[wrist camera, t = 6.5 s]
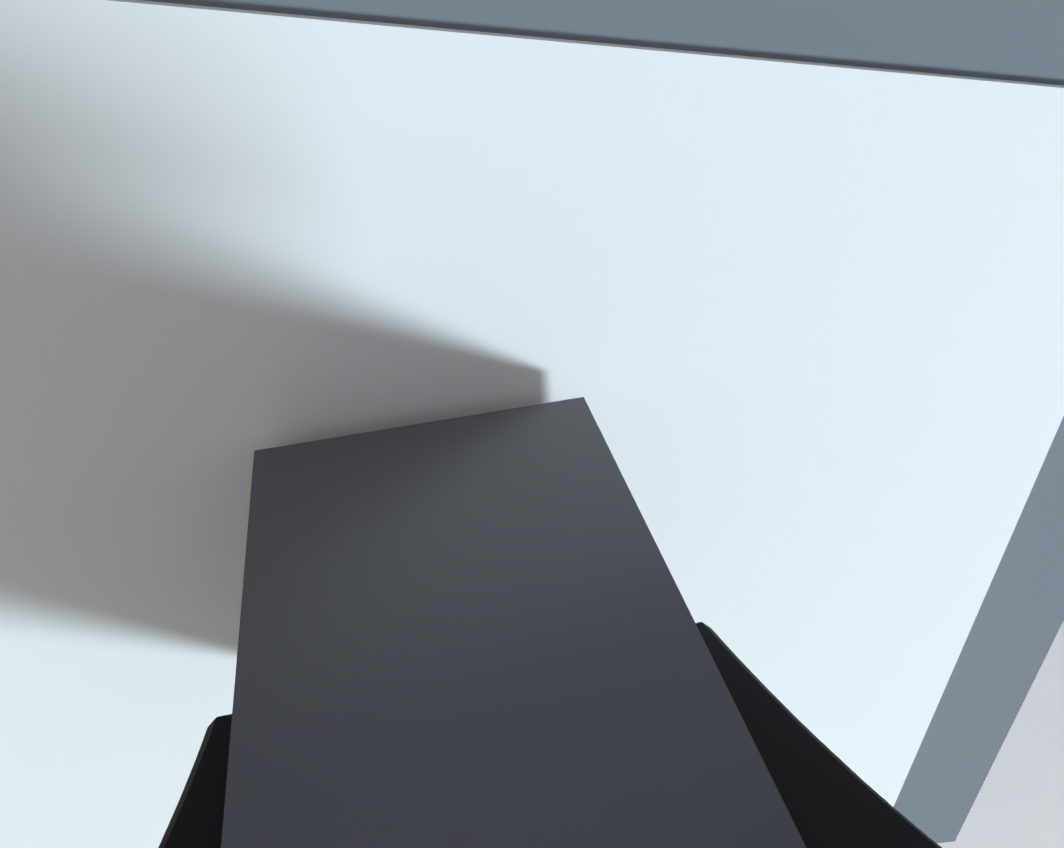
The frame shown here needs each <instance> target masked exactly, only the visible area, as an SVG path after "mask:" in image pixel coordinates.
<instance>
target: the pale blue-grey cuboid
mask: <svg viewBox="0 0 1064 848" xmlns="http://www.w3.org/2000/svg"><path fill="white" fill-rule="evenodd" d="M221 848H806V846H805V844H804V842H803V840H802V838H801V836H800V834H799V832H798V830H797V828H796V826H795V824H794V822H793V820H792V818H791V816H790V814H789V812H788V809H787V807H786V805H785V803H784V801H783V799H782V797H781V795H780V793H779V791H778V789H777V787H776V785H775V783H774V781H773V779H772V777H771V775H770V773H769V771H768V769H767V767H766V765H765V763H764V761H763V759H762V757H761V755H760V753H759V751H758V749H757V747H756V745H755V743H754V741H753V739H752V737H751V735H750V733H749V731H748V729H747V727H746V724H745V722H744V720H743V718H742V716H741V714H740V712H739V710H738V708H737V706H736V704H735V702H734V700H733V698H732V696H731V694H730V692H729V690H728V688H727V686H726V684H725V682H724V680H723V678H722V676H721V674H720V672H719V670H718V668H717V666H716V664H715V662H714V660H713V658H712V656H711V654H710V652H709V650H708V648H707V646H706V644H705V642H704V639H703V637H702V635H701V633H700V631H699V629H698V627H697V625H696V623H695V621H694V619H693V617H692V615H691V613H690V611H689V609H688V607H687V605H686V603H685V601H684V599H683V597H682V595H681V593H680V591H679V589H678V587H677V585H676V583H675V581H674V579H673V577H672V575H671V573H670V571H669V569H668V567H667V565H666V563H665V561H664V559H663V557H662V554H661V552H660V550H659V548H658V546H657V544H656V542H655V540H654V538H653V536H652V534H651V532H650V530H649V528H648V526H647V524H646V522H645V520H644V518H643V516H642V514H641V512H640V510H639V508H638V506H637V504H636V502H635V500H634V498H633V496H632V494H631V492H630V490H629V488H628V486H627V484H626V482H625V480H624V478H623V476H622V474H621V472H620V470H619V467H618V465H617V463H616V461H615V459H614V457H613V455H612V453H611V451H610V449H609V447H608V445H607V443H606V441H605V439H604V437H603V435H602V433H601V431H600V429H599V427H598V425H597V423H596V421H595V419H594V417H593V415H592V413H591V411H590V409H589V407H588V405H587V403H586V401H585V399H584V397H580V398H573V399H567V400H561V401H555V402H549V403H543V404H537V405H531V406H524V407H518V408H512V409H506V410H500V411H494V412H488V413H482V414H475V415H469V416H463V417H457V418H451V419H445V420H439V421H432V422H426V423H420V424H414V425H408V426H402V427H396V428H390V429H383V430H377V431H371V432H365V433H359V434H353V435H347V436H341V437H334V438H328V439H322V440H316V441H310V442H304V443H298V444H292V445H285V446H279V447H273V448H267V449H261V450H255V451H254V459H253V471H252V483H251V495H250V507H249V519H248V531H247V543H246V555H245V567H244V578H243V590H242V602H241V614H240V626H239V638H238V650H237V662H236V674H235V686H234V698H233V710H232V722H231V734H230V746H229V758H228V770H227V781H226V793H225V805H224V817H223V829H222V841H221Z"/></svg>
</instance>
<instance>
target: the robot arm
mask: <svg viewBox="0 0 1064 848" xmlns="http://www.w3.org/2000/svg"><path fill="white" fill-rule="evenodd" d="M696 625H697V627H698V629H699V631H700V633H701V635H702V637H703V639H704V642H705V644H706V646H707V648H708V650H709V652H710V654H711V656H712V658H713V660H714V662H715V664H716V666H717V668H718V670H719V672H720V674H721V676H722V678H723V680H724V682H725V684H726V686H727V688H728V690H729V692H730V694H731V696H732V698H733V700H734V702H735V704H736V706H737V708H738V710H739V712H740V714H741V716H742V718H743V720H744V722H745V724H746V727H747V729H748V731H749V733H750V735H751V737H752V739H753V741H754V743H755V745H756V747H757V749H758V751H759V753H760V755H761V757H762V759H763V761H764V763H765V765H766V767H767V769H768V771H769V773H770V775H771V777H772V779H773V781H774V783H775V785H776V787H777V789H778V791H779V793H780V795H781V797H782V799H783V801H784V803H785V805H786V807H787V809H788V812H789V814H790V816H791V818H792V820H793V822H794V824H795V826H796V828H797V830H798V832H799V834H800V836H801V838H802V840H803V842H804V844H805V846H806V848H942V847H940V846H939V845H938V844H937V843H935V842H934V841H933V840H932V839H931V838H929V837H928V836H927V835H926V834H925V833H923V832H922V831H921V830H920V829H919V828H917V827H916V826H915V825H914V824H913V823H912V822H910V821H909V820H908V819H907V818H906V817H904V816H903V815H902V814H901V813H900V812H899V811H897V810H896V809H895V808H894V807H893V806H891V805H890V804H889V803H888V802H887V801H886V800H885V799H884V798H882V797H881V796H880V795H879V794H878V793H877V792H876V791H874V790H873V789H872V788H871V787H870V786H869V785H868V784H867V783H865V782H864V781H863V780H862V779H861V778H860V777H859V776H858V775H857V774H856V773H855V772H853V771H852V770H851V769H850V768H849V767H848V766H847V765H846V764H845V763H844V762H843V761H842V760H841V759H840V758H838V757H837V756H836V755H835V754H834V753H833V752H832V751H831V750H830V749H829V748H828V747H827V746H826V745H824V744H823V743H822V742H821V741H820V740H819V739H818V738H817V737H816V736H815V735H814V734H813V733H812V732H811V731H810V730H809V729H808V728H807V727H806V726H805V725H803V724H802V723H801V722H800V721H799V720H798V719H797V718H796V717H795V716H794V715H793V714H792V713H791V712H790V711H789V710H788V709H787V708H786V707H785V706H784V705H783V704H782V703H781V702H780V701H779V700H778V699H777V698H776V697H775V696H774V695H773V694H772V693H771V692H770V691H769V690H768V689H767V688H766V686H765V685H764V684H763V683H762V682H761V681H760V680H759V679H758V678H757V677H756V676H755V675H754V674H753V673H752V672H751V671H750V670H749V669H748V668H747V667H746V666H745V664H744V663H743V662H742V661H741V660H740V659H739V658H738V657H737V656H736V655H735V654H734V653H733V652H732V651H731V649H730V648H729V647H728V646H727V645H726V644H725V643H724V642H723V641H722V640H721V639H720V637H719V636H718V635H717V634H716V633H715V632H714V631H713V630H712V629H711V628H710V627H709V626H707V625H706V624H704V623H703V622H699V623H696ZM231 722H232V714H229V715H224V716H219V717H216V718H215V719H214V720H213V722H212V723H211V724H210V725H209V726H208V728H207V730H206V733H205V736H204V739H203V741H202V744H201V747H200V749H199V752H198V755H197V757H196V760H195V762H194V765H193V767H192V770H191V772H190V775H189V778H188V780H187V782H186V785H185V787H184V790H183V792H182V795H181V797H180V799H179V802H178V804H177V806H176V809H175V811H174V813H173V816H172V818H171V820H170V822H169V825H168V827H167V829H166V831H165V834H164V836H163V838H162V841H161V843H160V845H159V847H158V848H221V841H222V829H223V817H224V805H225V793H226V781H227V770H228V758H229V746H230V734H231Z"/></svg>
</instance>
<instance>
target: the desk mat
mask: <svg viewBox="0 0 1064 848" xmlns="http://www.w3.org/2000/svg"><path fill="white" fill-rule="evenodd" d="M580 397H584V399H585V401H586V403H587V405H588V407H589V409H590V411H591V413H592V415H593V417H594V419H595V421H596V423H597V425H598V427H599V429H600V431H601V433H602V435H603V437H604V439H605V441H606V443H607V445H608V447H609V449H610V451H611V453H612V455H613V457H614V459H615V461H616V463H617V465H618V467H619V470H620V472H621V474H622V476H623V478H624V480H625V482H626V484H627V486H628V488H629V490H630V492H631V494H632V496H633V498H634V500H635V502H636V504H637V506H638V508H639V510H640V512H641V514H642V516H643V518H644V520H645V522H646V524H647V526H648V528H649V530H650V532H651V534H652V536H653V538H654V540H655V542H656V544H657V546H658V548H659V550H660V552H661V554H662V557H663V559H664V561H665V563H666V565H667V567H668V569H669V571H670V573H671V575H672V577H673V579H674V581H675V583H676V585H677V587H678V589H679V591H680V593H681V595H682V597H683V599H684V601H685V603H686V605H687V607H688V609H689V611H690V613H691V615H692V617H693V619H694V621H695V623H699V622H703V623H704V624H706V625H707V626H709V627H710V628H711V629H712V630H713V631H714V632H715V633H716V634H717V635H718V636H719V637H720V639H721V640H722V641H723V642H724V643H725V644H726V645H727V646H728V647H729V648H730V649H731V651H732V652H733V653H734V654H735V655H736V656H737V657H738V658H739V659H740V660H741V661H742V662H743V663H744V664H745V666H746V667H747V668H748V669H749V670H750V671H751V672H752V673H753V674H754V675H755V676H756V677H757V678H758V679H759V680H760V681H761V682H762V683H763V684H764V685H765V686H766V688H767V689H768V690H769V691H770V692H771V693H772V694H773V695H774V696H775V697H776V698H777V699H778V700H779V701H780V702H781V703H782V704H783V705H784V706H785V707H786V708H787V709H788V710H789V711H790V712H791V713H792V714H793V715H794V716H795V717H796V718H797V719H798V720H799V721H800V722H801V723H802V724H803V725H805V726H806V727H807V728H808V729H809V730H810V731H811V732H812V733H813V734H814V735H815V736H816V737H817V738H818V739H819V740H820V741H821V742H822V743H823V744H824V745H826V746H827V747H828V748H829V749H830V750H831V751H832V752H833V753H834V754H835V755H836V756H837V757H838V758H840V759H841V760H842V761H843V762H844V763H845V764H846V765H847V766H848V767H849V768H850V769H851V770H852V771H853V772H855V773H856V774H857V775H858V776H859V777H860V778H861V779H862V780H863V781H864V782H865V783H867V784H868V785H869V786H870V787H871V788H872V789H873V790H874V791H876V792H877V793H878V794H879V795H880V796H881V797H882V798H884V799H885V800H886V801H887V802H888V803H889V804H890V805H891V806H893V807H894V808H895V809H896V810H897V811H899V812H900V813H901V814H902V815H903V816H904V817H906V818H907V819H908V820H909V821H910V822H912V823H913V824H914V825H915V826H916V827H917V828H919V829H920V830H921V831H922V832H923V833H925V834H926V835H927V836H928V837H929V838H931V839H932V840H933V841H934V842H935V843H942V842H952V841H955V840H956V838H957V835H958V833H959V831H960V829H961V827H962V825H963V823H964V821H965V819H966V817H967V815H968V813H969V811H970V809H971V807H972V805H973V803H974V801H975V799H976V797H977V795H978V793H979V791H980V789H981V787H982V785H983V783H984V781H985V779H986V777H987V775H988V773H989V770H990V768H991V766H992V764H993V762H994V760H995V758H996V756H997V754H998V752H999V750H1000V748H1001V746H1002V744H1003V742H1004V740H1005V738H1006V736H1007V734H1008V732H1009V730H1010V728H1011V726H1012V724H1013V722H1014V720H1015V718H1016V716H1017V714H1018V712H1019V710H1020V708H1021V706H1022V703H1023V701H1024V699H1025V697H1026V695H1027V693H1028V691H1029V689H1030V687H1031V685H1032V683H1033V681H1034V679H1035V677H1036V675H1037V673H1038V671H1039V669H1040V667H1041V665H1042V663H1043V661H1044V659H1045V657H1046V655H1047V653H1048V651H1049V649H1050V647H1051V645H1052V643H1053V641H1054V639H1055V636H1056V634H1057V632H1058V630H1059V628H1060V626H1061V624H1062V622H1063V620H1064V0H0V848H158V847H159V845H160V843H161V841H162V838H163V836H164V834H165V831H166V829H167V827H168V825H169V822H170V820H171V818H172V816H173V813H174V811H175V809H176V806H177V804H178V802H179V799H180V797H181V795H182V792H183V790H184V787H185V785H186V782H187V780H188V778H189V775H190V772H191V770H192V767H193V765H194V762H195V760H196V757H197V755H198V752H199V749H200V747H201V744H202V741H203V739H204V736H205V733H206V730H207V728H208V726H209V725H210V724H211V723H212V722H213V720H214V719H215V718H216V717H219V716H224V715H229V714H232V710H233V698H234V686H235V674H236V662H237V650H238V638H239V626H240V614H241V602H242V590H243V578H244V567H245V555H246V543H247V531H248V519H249V507H250V495H251V483H252V471H253V459H254V451H255V450H261V449H267V448H273V447H279V446H285V445H292V444H298V443H304V442H310V441H316V440H322V439H328V438H334V437H341V436H347V435H353V434H359V433H365V432H371V431H377V430H383V429H390V428H396V427H402V426H408V425H414V424H420V423H426V422H432V421H439V420H445V419H451V418H457V417H463V416H469V415H475V414H482V413H488V412H494V411H500V410H506V409H512V408H518V407H524V406H531V405H537V404H543V403H549V402H555V401H561V400H567V399H573V398H580Z"/></svg>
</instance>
